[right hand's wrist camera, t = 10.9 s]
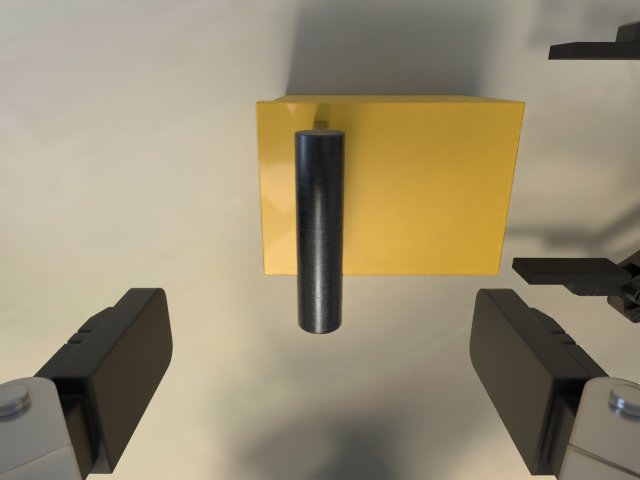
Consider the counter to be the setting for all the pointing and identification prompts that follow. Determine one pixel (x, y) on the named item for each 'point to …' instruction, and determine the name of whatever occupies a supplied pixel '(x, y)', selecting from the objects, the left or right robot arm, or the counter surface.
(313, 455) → the counter surface
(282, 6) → the counter surface
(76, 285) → the counter surface
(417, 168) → the yellow handled panel
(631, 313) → the left robot arm
